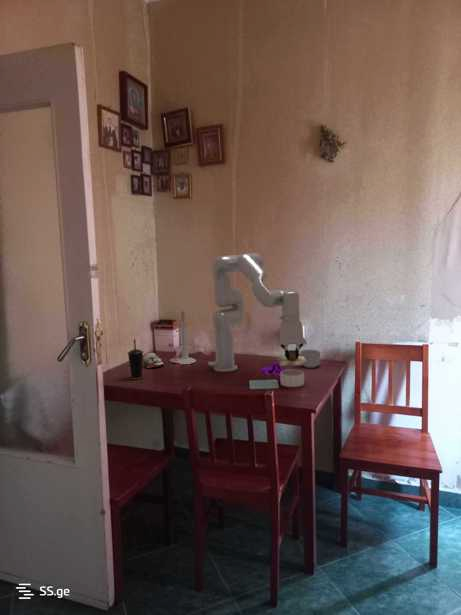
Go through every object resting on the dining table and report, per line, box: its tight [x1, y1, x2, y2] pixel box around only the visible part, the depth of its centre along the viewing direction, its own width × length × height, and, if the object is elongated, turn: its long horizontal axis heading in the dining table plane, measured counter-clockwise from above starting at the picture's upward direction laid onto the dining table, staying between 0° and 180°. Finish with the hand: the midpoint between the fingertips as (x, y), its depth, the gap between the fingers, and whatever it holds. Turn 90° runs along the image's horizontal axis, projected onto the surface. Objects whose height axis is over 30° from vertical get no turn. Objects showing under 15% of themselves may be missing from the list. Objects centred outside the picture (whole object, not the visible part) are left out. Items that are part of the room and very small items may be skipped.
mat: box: [248, 379, 280, 390], centre depth 212 cm, size 13×13×1 cm
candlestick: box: [176, 310, 197, 364], centre depth 258 cm, size 13×13×30 cm
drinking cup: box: [127, 339, 144, 379], centre depth 231 cm, size 8×8×20 cm
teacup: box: [299, 348, 322, 369], centre depth 242 cm, size 14×11×8 cm
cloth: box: [259, 362, 292, 377], centre depth 231 cm, size 22×19×6 cm
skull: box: [142, 352, 164, 367], centre depth 255 cm, size 12×10×10 cm
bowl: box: [279, 369, 305, 388], centre depth 211 cm, size 10×10×6 cm
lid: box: [277, 349, 307, 367], centre depth 210 cm, size 12×12×5 cm
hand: (292, 358), depth 210 cm, fingers closed on lid, 3 cm apart
